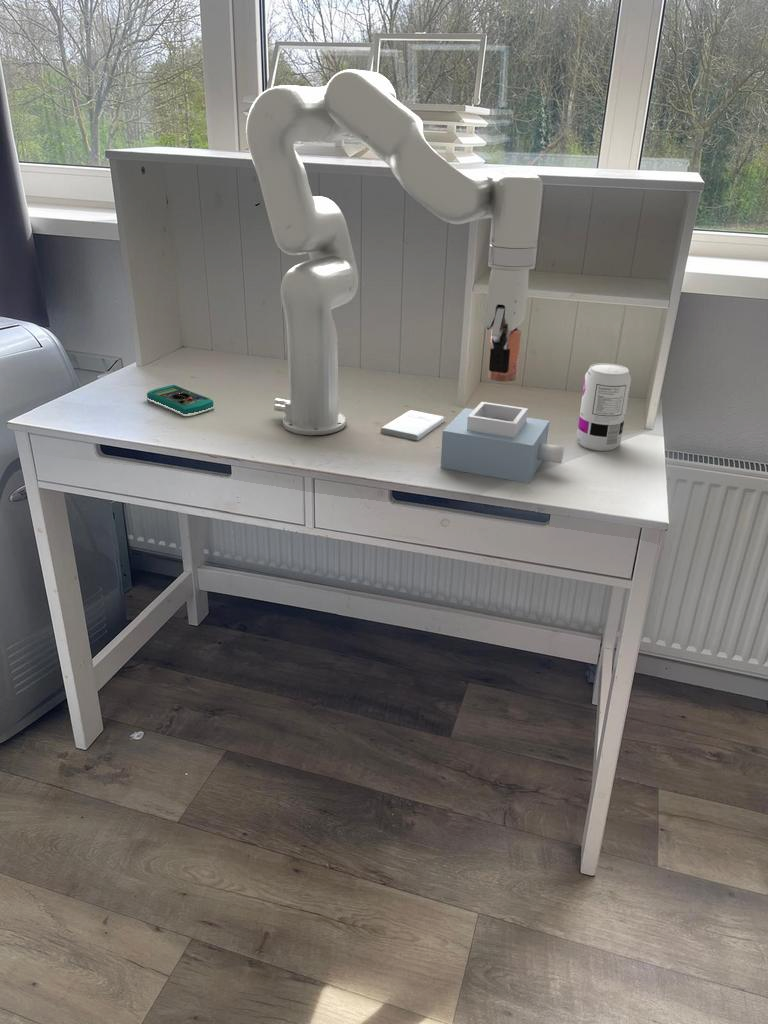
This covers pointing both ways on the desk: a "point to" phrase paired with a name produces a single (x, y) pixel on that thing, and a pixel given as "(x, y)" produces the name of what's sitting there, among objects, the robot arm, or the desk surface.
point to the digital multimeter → (180, 399)
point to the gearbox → (498, 443)
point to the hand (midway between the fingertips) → (503, 366)
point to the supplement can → (603, 406)
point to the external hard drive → (412, 425)
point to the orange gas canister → (513, 359)
